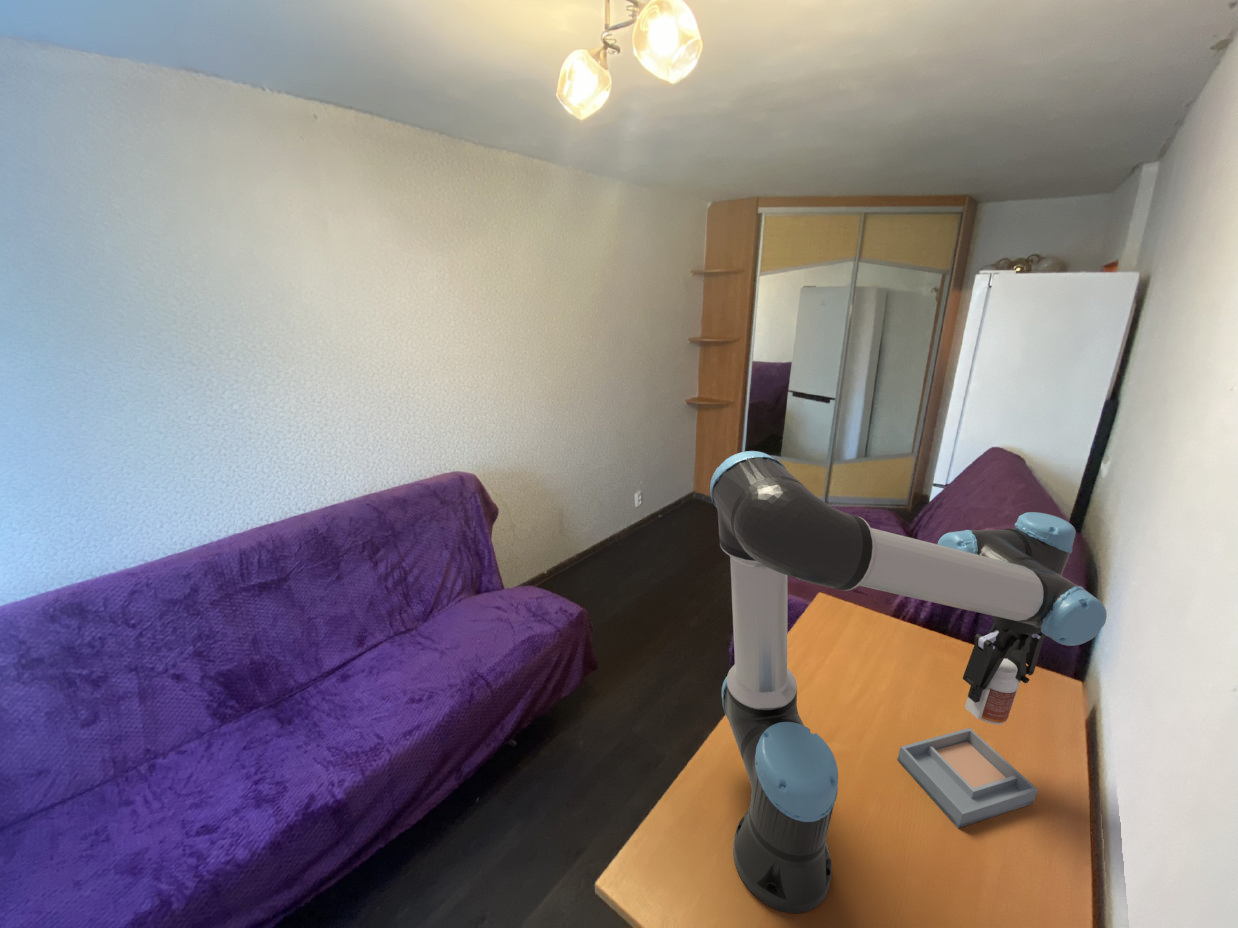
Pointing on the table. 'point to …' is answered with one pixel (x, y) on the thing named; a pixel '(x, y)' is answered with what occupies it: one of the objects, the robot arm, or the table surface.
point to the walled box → (966, 777)
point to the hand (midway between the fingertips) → (987, 708)
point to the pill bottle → (1001, 693)
